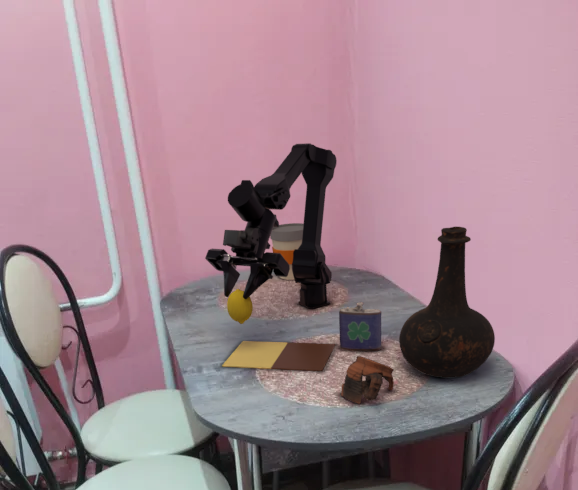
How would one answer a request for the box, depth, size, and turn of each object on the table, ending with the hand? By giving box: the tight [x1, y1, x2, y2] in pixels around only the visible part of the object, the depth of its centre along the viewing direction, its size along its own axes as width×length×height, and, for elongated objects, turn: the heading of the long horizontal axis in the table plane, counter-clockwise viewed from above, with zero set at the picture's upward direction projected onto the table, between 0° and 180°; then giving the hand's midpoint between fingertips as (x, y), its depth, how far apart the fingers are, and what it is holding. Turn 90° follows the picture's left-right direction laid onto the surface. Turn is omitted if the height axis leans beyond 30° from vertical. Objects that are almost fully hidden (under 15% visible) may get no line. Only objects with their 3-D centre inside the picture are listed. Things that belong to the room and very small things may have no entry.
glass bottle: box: [398, 226, 496, 379], centre depth 115 cm, size 18×18×28 cm
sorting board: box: [221, 340, 336, 372], centre depth 133 cm, size 14×22×1 cm, turn 75°
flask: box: [338, 301, 382, 352], centre depth 131 cm, size 9×3×11 cm, turn 74°
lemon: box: [226, 288, 254, 325], centre depth 132 cm, size 6×6×8 cm
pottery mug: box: [340, 355, 395, 405], centre depth 112 cm, size 12×10×8 cm
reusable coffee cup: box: [269, 222, 304, 281], centre depth 186 cm, size 13×13×15 cm
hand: (235, 297), depth 130 cm, fingers closed on lemon, 4 cm apart
